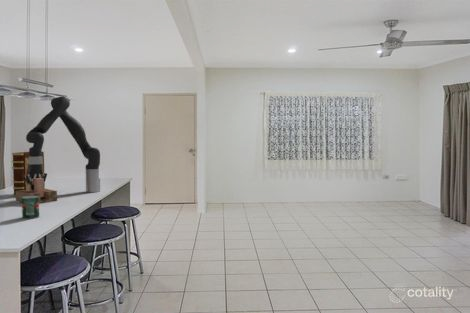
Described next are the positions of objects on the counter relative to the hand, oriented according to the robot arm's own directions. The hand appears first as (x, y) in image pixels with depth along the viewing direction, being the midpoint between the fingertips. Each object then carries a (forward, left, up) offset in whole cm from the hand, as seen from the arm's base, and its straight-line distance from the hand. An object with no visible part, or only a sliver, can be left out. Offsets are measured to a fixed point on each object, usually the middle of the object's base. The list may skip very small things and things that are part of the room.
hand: (36, 189), depth 231 cm
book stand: (0, 0, -7) cm, 7 cm away
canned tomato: (+24, +41, -8) cm, 48 cm away
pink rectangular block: (0, 0, -5) cm, 5 cm away
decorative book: (-9, -28, -8) cm, 30 cm away
